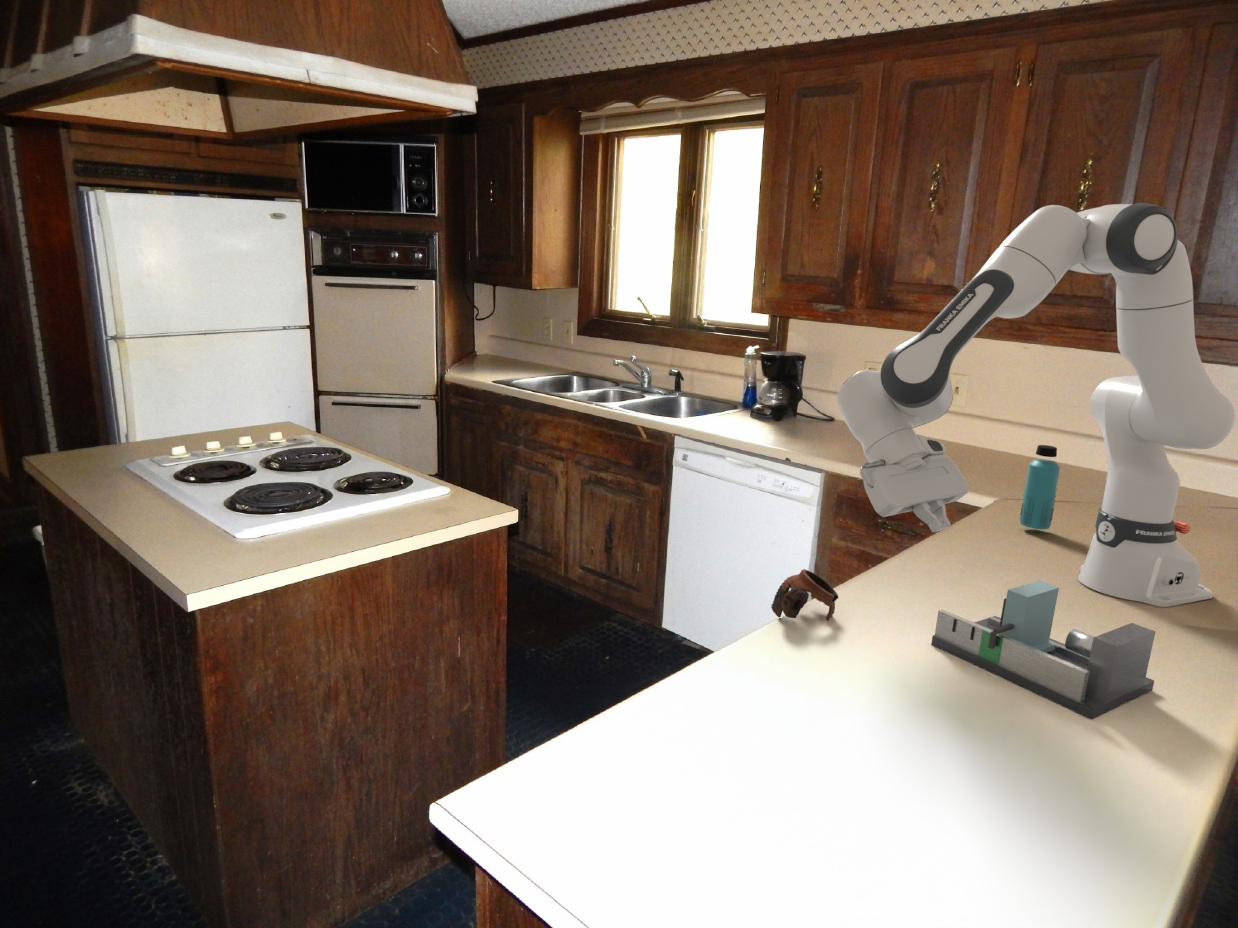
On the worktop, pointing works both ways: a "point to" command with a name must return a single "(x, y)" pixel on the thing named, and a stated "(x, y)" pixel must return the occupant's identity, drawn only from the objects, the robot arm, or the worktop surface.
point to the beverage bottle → (1040, 490)
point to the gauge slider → (1028, 615)
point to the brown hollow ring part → (803, 594)
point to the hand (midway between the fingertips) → (942, 529)
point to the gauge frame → (1058, 662)
